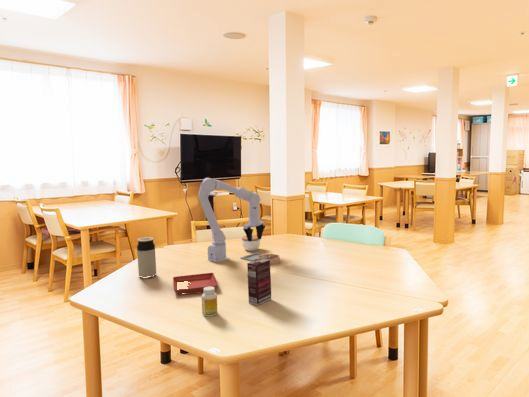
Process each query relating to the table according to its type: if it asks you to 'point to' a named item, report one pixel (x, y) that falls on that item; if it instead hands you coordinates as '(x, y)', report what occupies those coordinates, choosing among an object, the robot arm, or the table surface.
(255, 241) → the lidded jar
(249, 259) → the tray
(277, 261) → the bowl
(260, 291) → the supplement box
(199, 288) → the plant saucer
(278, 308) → the table surface
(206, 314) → the supplement bottle
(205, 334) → the table surface
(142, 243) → the travel mug
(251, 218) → the robot arm
